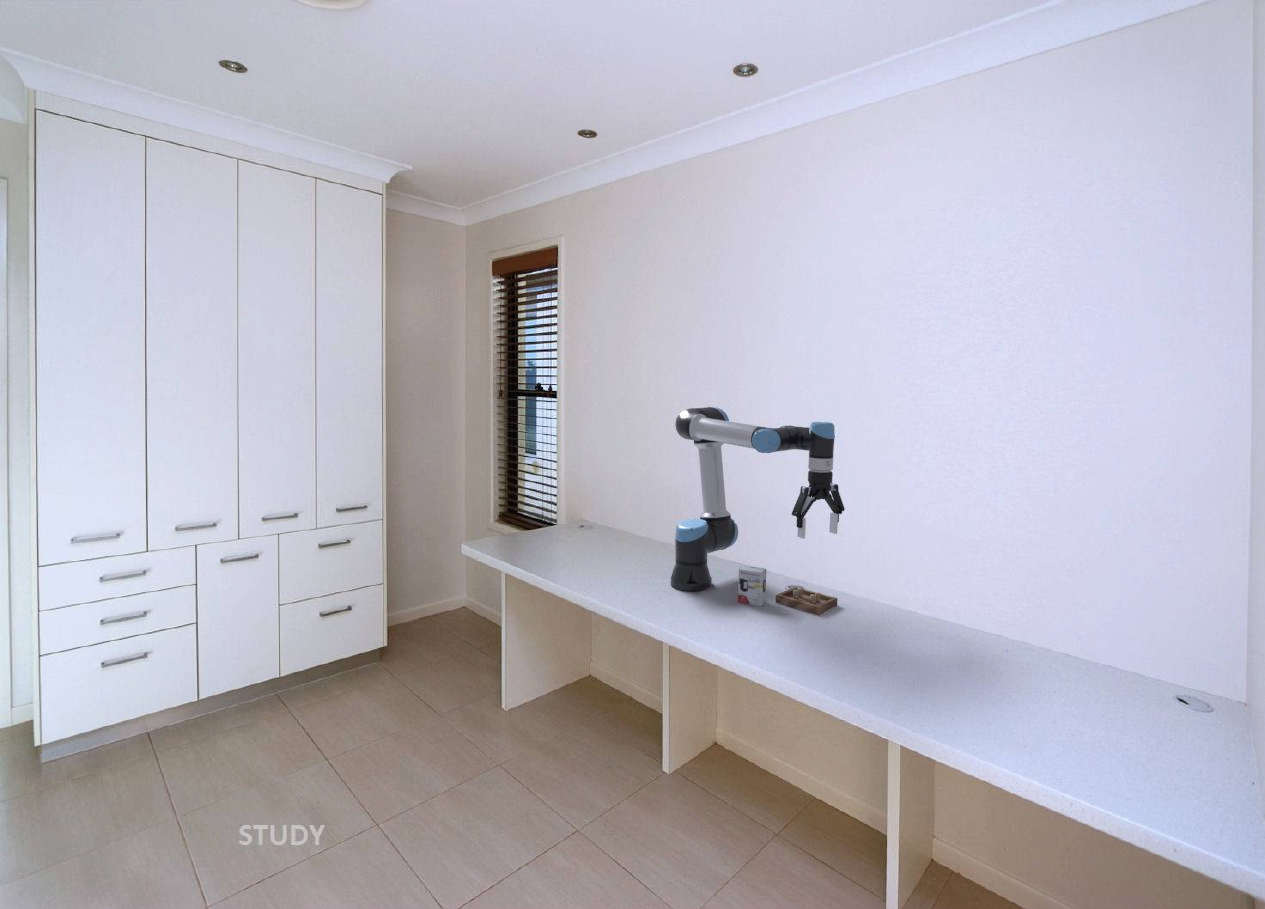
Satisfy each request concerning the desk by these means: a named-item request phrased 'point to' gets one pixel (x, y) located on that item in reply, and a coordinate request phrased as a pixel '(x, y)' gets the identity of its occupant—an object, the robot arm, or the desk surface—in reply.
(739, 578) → the ink box
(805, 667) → the desk surface
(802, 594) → the peg frame
